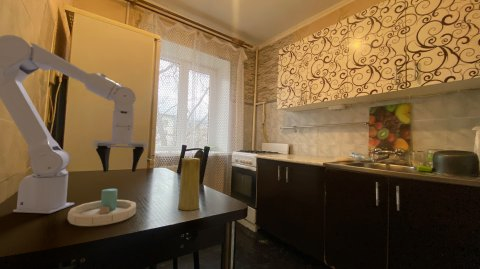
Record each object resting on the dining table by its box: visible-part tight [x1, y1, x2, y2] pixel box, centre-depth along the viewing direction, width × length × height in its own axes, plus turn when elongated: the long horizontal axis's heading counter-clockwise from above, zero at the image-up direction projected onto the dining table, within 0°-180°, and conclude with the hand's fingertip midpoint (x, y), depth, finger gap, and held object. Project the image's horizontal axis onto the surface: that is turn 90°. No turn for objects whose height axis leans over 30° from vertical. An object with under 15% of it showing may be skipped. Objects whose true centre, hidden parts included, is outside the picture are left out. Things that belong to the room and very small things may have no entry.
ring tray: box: [67, 199, 137, 227], centre depth 53 cm, size 14×14×2 cm
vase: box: [177, 157, 201, 212], centre depth 62 cm, size 6×6×14 cm
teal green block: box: [100, 188, 118, 211], centre depth 56 cm, size 4×4×5 cm
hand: (120, 171), depth 64 cm, fingers open, 7 cm apart
